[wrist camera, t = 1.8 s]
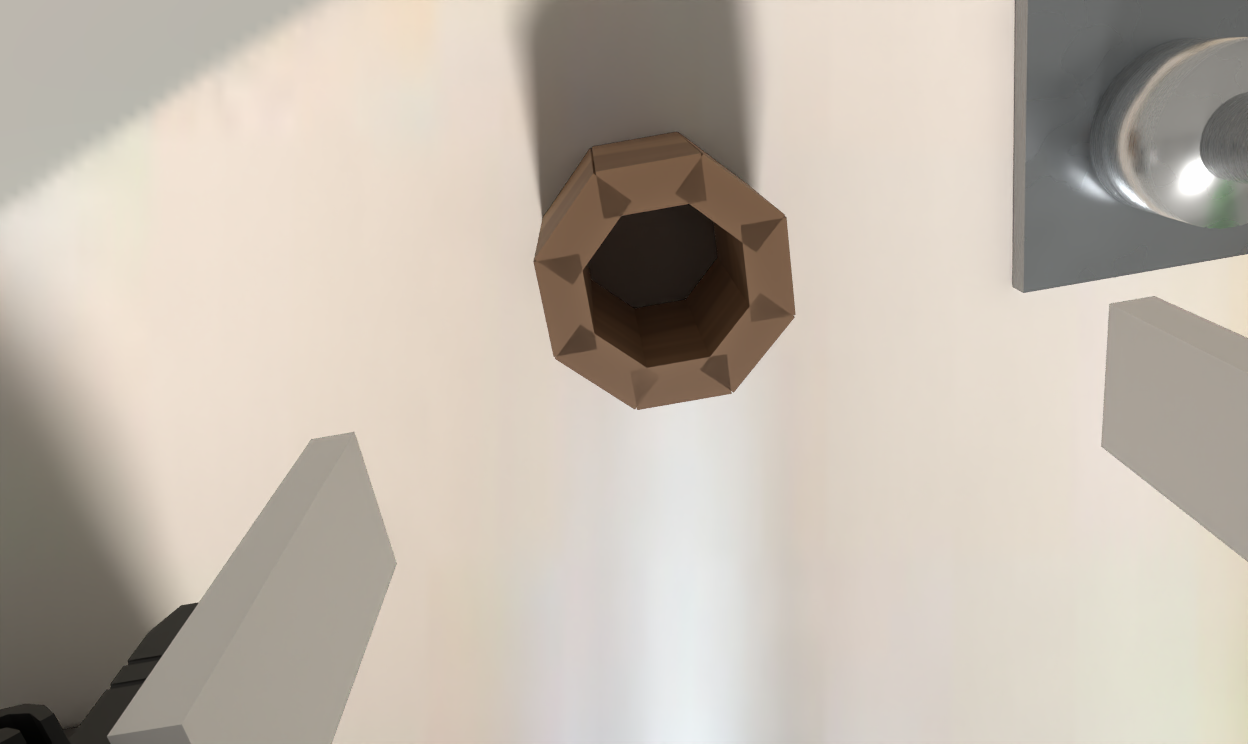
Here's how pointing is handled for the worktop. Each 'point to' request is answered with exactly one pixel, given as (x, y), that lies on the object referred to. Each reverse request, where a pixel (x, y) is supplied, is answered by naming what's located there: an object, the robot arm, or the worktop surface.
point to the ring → (676, 331)
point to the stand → (1128, 137)
